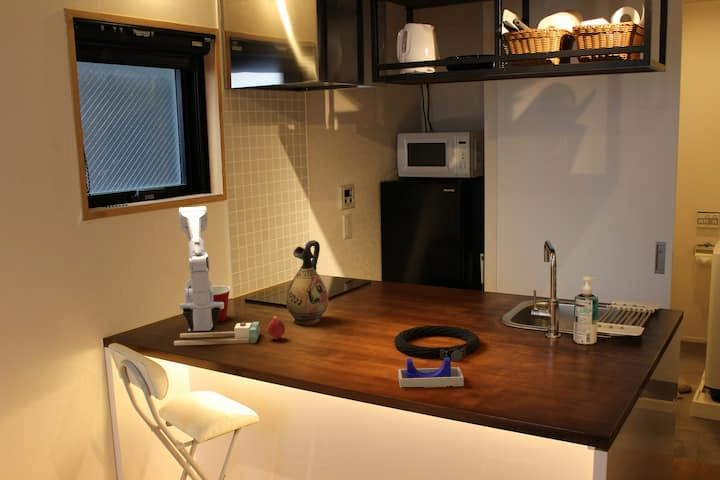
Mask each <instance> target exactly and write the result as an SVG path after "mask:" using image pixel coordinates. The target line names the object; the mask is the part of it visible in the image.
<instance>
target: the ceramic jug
mask: <svg viewBox="0 0 720 480" xmlns="http://www.w3.org/2000/svg"><path fill="white" fill-rule="evenodd" d="M312 247H313V251H312V250H311V248H312ZM320 248H321V246H320V243H319V241H317V240H314V239H313V240H308V242H306V244H305V247H302V246H299V245H298V246H297V247H295V249H294V250H293V256H294V258H297V259H300V260H302V265H301V266H300V268H299V270H298V272H297V273H296V274H295V276H294V277H293V279H292V281H291V282H290V285H289V287H288V289H287V293H286V299H285V302H286V308H287V311H288V312H289V314H290V315H291V316H292V318H293V319H294V323H295V324H297V325H306V326H307V325H314V324H318V323H319V322H320V320H321V318H322V316H323V315H324V313H325V312H326V310H327V309H328V307H329V293H328V291H327V287H326V284H325V283H324V281H323V279H322V278H321V276H320V275H319V274H318V272H317V264H318V261H319V260H318V259H319V256H320V252H321V251H320V250H321V249H320Z"/></svg>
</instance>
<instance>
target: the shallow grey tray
mask: <svg viewBox="0 0 720 480" xmlns="http://www.w3.org/2000/svg"><path fill="white" fill-rule="evenodd" d="M439 368H440V367H426V368H425V367H424V368H422V367H421V368H416V369H417V370H418V371H420V372H423V373H433V372H435V371H437V370H438V369H439ZM397 371H398V373H397V375H398V382H399V388H400V389H402V388H401V387H424V388H447V386H448V387H449V386H453V387H464V385H465V384H464V382H465V381H464V376H463V372H462V371H461V369H460V367H459V366H457V367H454V366H453V367H452V366H451V377H446V376H444V377H436V378H407V368H398V370H397ZM403 377H404V378H403Z"/></svg>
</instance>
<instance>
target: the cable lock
mask: <svg viewBox="0 0 720 480" xmlns="http://www.w3.org/2000/svg"><path fill="white" fill-rule="evenodd" d="M435 336H440V337H452V338H456V339H461V340H464V341H465V343H463V344H457V345H453V346H452V345H451V346H440V347H439V346H438V347H437V346H435V347H432V346H423V345H416V344H412V343H409V342H408V341H410V340H413V339H416V337H417V338H423V337H435ZM480 341H481V340H480V337H479V336H478V335H477V334H476V333H475V332H473V331H472V330H469V329H467V328H463V327H460V326H459V327H458V326H450V325H423V326H414V327H412V328H407V329H403V330H402V331H400V332H399V333H398V334H397V335H396V336H395V337H394V340H393V343H394V347H395V348H396V350H398V351H400V352H401V353H403V354H405V355H408V356H411V355H412V356H411V357H414V356H416V358H422V359H429V358H431V359H432V360H433V359H434V358H435V359H439V358H440V360H442V359H444V357H449V358H450V360H452V362H459V360H460V361H461V360H462V359H463V358H464V357H465V356H467V355H469V354H471V353H474V352H475V351H476V350H478V348H479V347H480V344H481V342H480Z"/></svg>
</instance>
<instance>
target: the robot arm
mask: <svg viewBox="0 0 720 480" xmlns="http://www.w3.org/2000/svg"><path fill="white" fill-rule="evenodd" d="M178 218H179V219H178V221H179V226H180V227H179V228H180V231H181V232H182V233H185V234H186V236H187V239H188V244H187V247H188V255H189V257H188V267H189V268H188V270H189V273H190V274H189V275H190V278H189V279H188V280H187V281H186V282H184V283H185V284H184V298H185V300H184V301H185V303H184V302H183V303H180V304H179V311H182V316H184V317H185V319H186V321H187V324H188V326H189V328H188V329H187V331H188V332H199V331H201V332H202V331H204V332H206V331H211V330H213V331H216V329H217V324H218V321H217V320H218V316H219V313H220V311H221V309H223V308H224V302H212V301H213V299H214V298H213V287H212V286H213V282H212V280H211V279H209V276H210V275H209V272H210V259H209V258H210V257H209V255H208V252H207V246H206V241H205V240H204V239H203V238H202V233H203V232H204V231H206V230H207V227H208V208H207V207H206V206H205V205H203V206H190V207H179V209H178ZM211 309H213V310H212V311H211ZM212 318H213V321H212Z"/></svg>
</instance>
